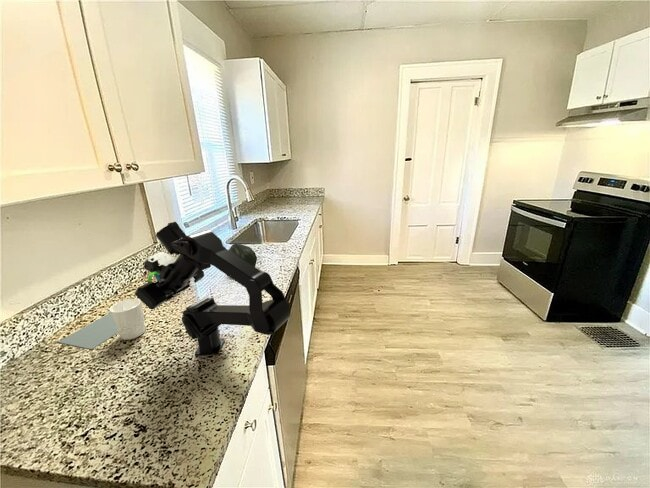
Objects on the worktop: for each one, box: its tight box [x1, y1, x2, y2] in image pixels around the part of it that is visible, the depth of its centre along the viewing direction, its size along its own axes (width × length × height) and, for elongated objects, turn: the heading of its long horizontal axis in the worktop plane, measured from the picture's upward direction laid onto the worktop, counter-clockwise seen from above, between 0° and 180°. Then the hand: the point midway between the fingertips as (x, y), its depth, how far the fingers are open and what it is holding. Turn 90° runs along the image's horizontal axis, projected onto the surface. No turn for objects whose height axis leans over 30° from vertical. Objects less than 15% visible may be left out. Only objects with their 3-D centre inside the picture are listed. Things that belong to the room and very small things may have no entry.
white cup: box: [109, 298, 147, 341], centre depth 86 cm, size 8×8×10 cm
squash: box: [228, 243, 258, 268], centre depth 130 cm, size 14×15×15 cm
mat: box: [57, 312, 146, 350], centre depth 90 cm, size 14×18×1 cm
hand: (160, 299), depth 79 cm, fingers open, 2 cm apart
